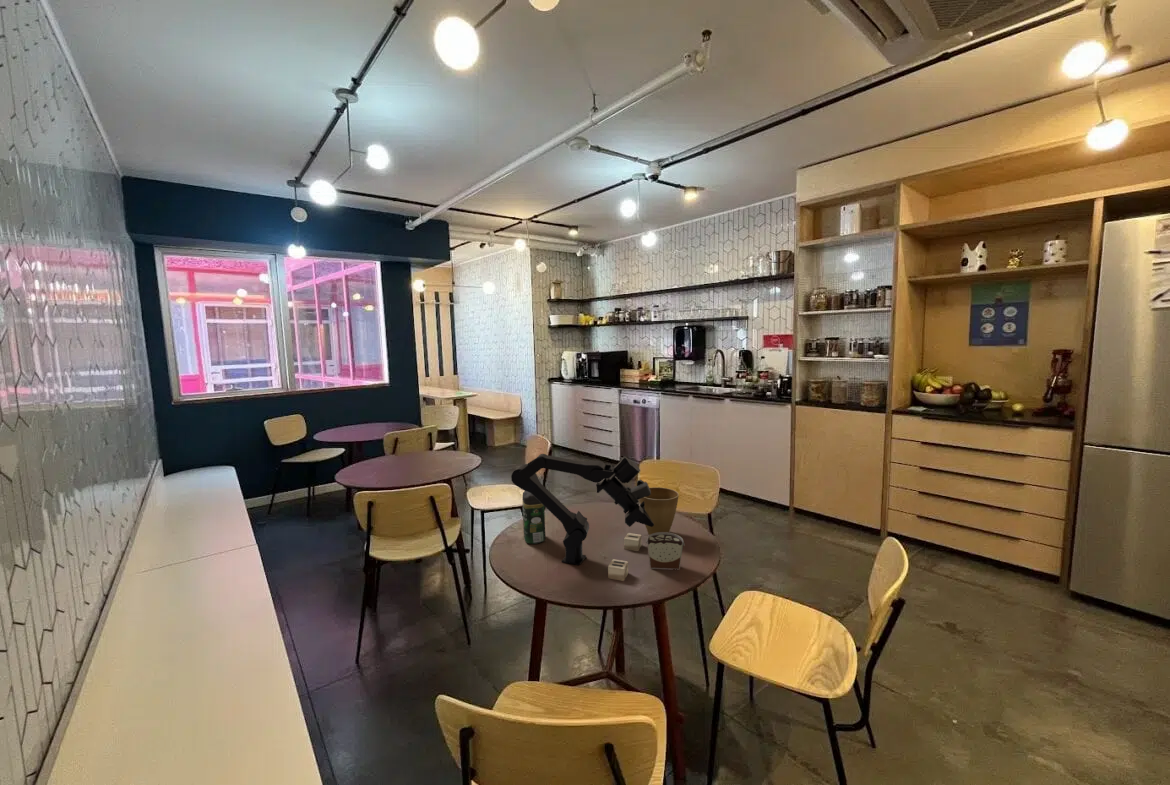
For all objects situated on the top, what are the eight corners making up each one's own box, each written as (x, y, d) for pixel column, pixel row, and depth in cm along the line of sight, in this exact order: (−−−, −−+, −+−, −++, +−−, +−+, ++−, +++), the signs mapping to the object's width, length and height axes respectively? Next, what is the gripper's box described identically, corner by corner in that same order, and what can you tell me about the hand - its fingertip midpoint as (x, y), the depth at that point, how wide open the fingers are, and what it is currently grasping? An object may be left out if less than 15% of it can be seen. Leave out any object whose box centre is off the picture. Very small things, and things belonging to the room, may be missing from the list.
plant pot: (685, 539, 173) (686, 497, 171) (648, 544, 168) (648, 501, 166) (667, 524, 187) (667, 485, 185) (632, 528, 183) (632, 488, 181)
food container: (682, 560, 156) (682, 531, 155) (684, 569, 150) (684, 540, 149) (644, 559, 157) (645, 530, 156) (645, 568, 151) (645, 538, 150)
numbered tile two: (623, 581, 144) (623, 568, 143) (608, 578, 145) (608, 566, 145) (628, 573, 148) (628, 561, 148) (612, 571, 150) (612, 558, 150)
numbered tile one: (638, 551, 164) (638, 540, 163) (624, 549, 165) (624, 538, 165) (641, 545, 168) (641, 534, 168) (627, 543, 170) (627, 532, 169)
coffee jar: (522, 535, 178) (520, 487, 176) (543, 532, 180) (541, 485, 177) (525, 546, 168) (523, 496, 166) (547, 543, 170) (546, 494, 168)
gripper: (635, 484, 142) (672, 520, 142) (636, 467, 161) (669, 499, 160) (609, 508, 144) (646, 544, 144) (613, 489, 162) (646, 520, 162)
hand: (653, 525), depth 153 cm, fingers closed
